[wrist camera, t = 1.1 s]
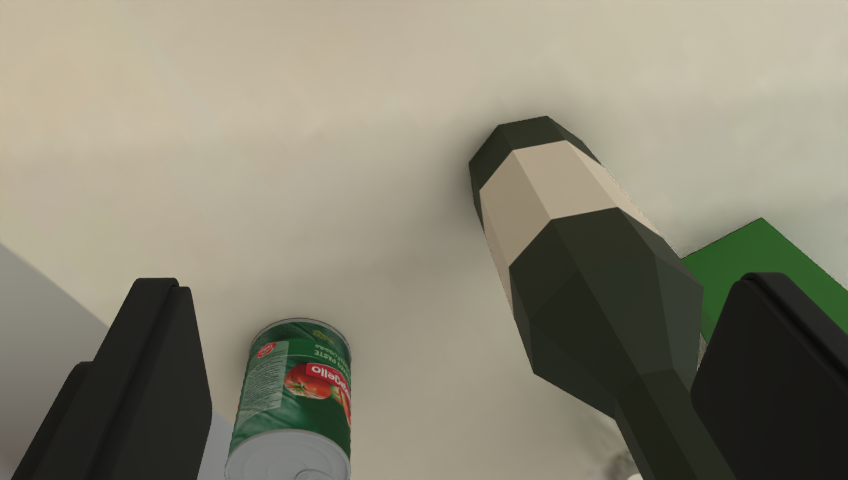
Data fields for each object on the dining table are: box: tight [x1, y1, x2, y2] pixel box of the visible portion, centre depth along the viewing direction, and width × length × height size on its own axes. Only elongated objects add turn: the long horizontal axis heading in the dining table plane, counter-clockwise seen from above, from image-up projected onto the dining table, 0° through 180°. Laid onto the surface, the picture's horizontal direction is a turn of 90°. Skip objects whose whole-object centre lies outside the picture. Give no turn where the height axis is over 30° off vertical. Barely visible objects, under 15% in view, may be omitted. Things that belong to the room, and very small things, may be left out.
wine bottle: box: [469, 116, 737, 480], centre depth 29 cm, size 8×8×30 cm
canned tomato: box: [224, 318, 351, 480], centre depth 43 cm, size 8×8×11 cm
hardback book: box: [681, 218, 848, 345], centre depth 40 cm, size 18×7×24 cm, turn 32°
